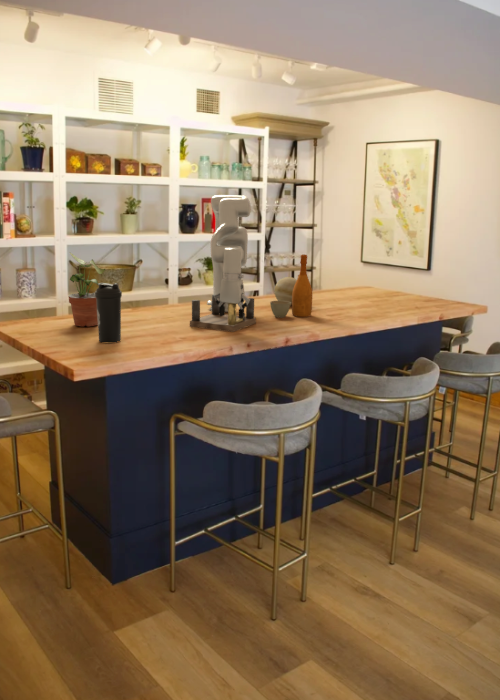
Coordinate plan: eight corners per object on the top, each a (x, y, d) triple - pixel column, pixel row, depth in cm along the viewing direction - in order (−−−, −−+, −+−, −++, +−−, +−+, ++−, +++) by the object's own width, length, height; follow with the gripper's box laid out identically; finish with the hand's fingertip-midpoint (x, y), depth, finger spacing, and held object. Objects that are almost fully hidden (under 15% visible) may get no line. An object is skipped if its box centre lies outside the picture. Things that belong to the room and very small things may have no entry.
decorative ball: (268, 304, 351) (269, 276, 348) (287, 301, 361) (288, 274, 358) (288, 308, 341) (289, 279, 337) (307, 305, 350) (308, 277, 347)
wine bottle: (313, 314, 324) (316, 254, 317) (308, 318, 315) (311, 255, 308) (294, 313, 327) (296, 253, 320) (289, 316, 318) (291, 254, 311)
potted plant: (77, 330, 278) (74, 247, 270) (64, 324, 290) (60, 244, 282) (111, 326, 287) (109, 246, 279) (97, 320, 299) (95, 243, 291)
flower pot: (288, 319, 312) (289, 304, 310) (268, 317, 314) (268, 303, 312) (291, 315, 322) (292, 301, 320) (271, 314, 324) (272, 300, 322)
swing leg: (239, 319, 294) (240, 299, 292) (246, 320, 293) (247, 300, 291) (226, 324, 283) (226, 303, 280) (233, 325, 281) (234, 304, 279)
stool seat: (189, 326, 291) (189, 300, 288) (214, 318, 310) (214, 294, 308) (233, 331, 282) (233, 305, 279) (255, 323, 301) (256, 298, 298)
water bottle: (98, 337, 265) (96, 281, 260) (124, 337, 266) (122, 281, 260) (95, 343, 255) (92, 285, 250) (121, 343, 256) (119, 285, 251)
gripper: (254, 277, 278) (253, 317, 282) (218, 274, 286) (218, 313, 290) (246, 279, 272) (245, 320, 276) (210, 276, 279) (209, 316, 283)
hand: (231, 316), depth 283 cm, fingers open, 8 cm apart
